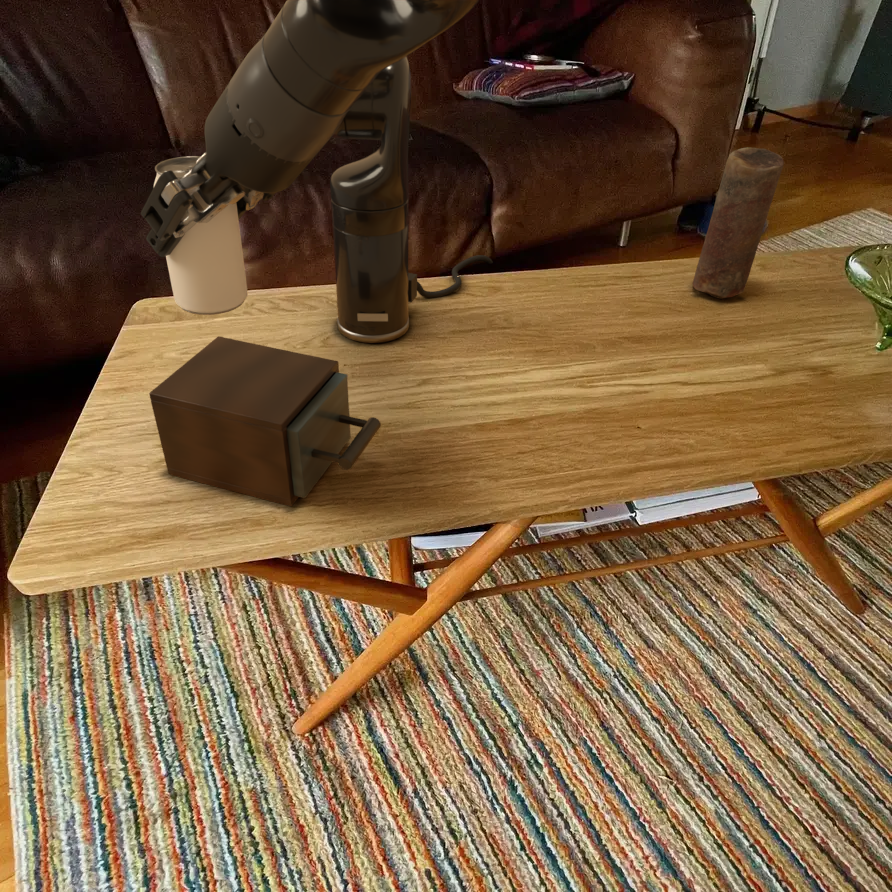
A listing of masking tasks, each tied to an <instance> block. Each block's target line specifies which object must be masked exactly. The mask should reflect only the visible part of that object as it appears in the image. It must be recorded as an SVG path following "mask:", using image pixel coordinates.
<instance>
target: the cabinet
mask: <svg viewBox="0 0 892 892" xmlns="http://www.w3.org/2000/svg"><path fill="white" fill-rule="evenodd" d="M339 369H340V368H339V361H338V360H335V359H329V358H325V357H319V356H316V355H315V356H314V355H310V354H305V353H301V352H295V351H291V350H286V349H281V348H277V347H271V346H267V345H261V344H257V343H252V342H247V341H244V340H239V339H233V338H230V337H229V338H228V337H223V336H216V337H215V338H214V339H213V340H212V341H211V342H209V343H208V344H207V345H205V347H203V348H202V349H201V350H199V351H198V352H197V353H196V354H195V355H194V356H193V357H190V359H188V360H187V362H185V363H184V364H182V365H181V366H180V367H178V369H177V370H175V371H174V372H173V373H172V374H171V375H169V376H167V378H165V379H164V380H163V381H162V382H161V383H159V384H158V385H157V386H156V387H155V388H154V389H152V390H151V391H150V392H149V393H148V395H149V398H150V404H151V407H152V412H153V416H154V420H155V424H156V428H157V432H158V433H157V434H158V436H159V437H158V438H159V441H160V445H161V449H162V454H163V457H164V461H165V465H166V470H167V474H168V475H170V476H174V477H178V478H181V479H185V480H188V481H193V482H197V483H201V484H203V485H204V484H205V485H209V486H212V487H216V488H219V489H223V490H228V491H231V492H235V493H239V494H242V495H246V496H250V497H254V498H257V499H261V500H264V501H268V502H269V501H270V502H273V503H277V504H280V505H284V506H288V507H293V505H294V504H295V503H296V501H297V500H298V499H299V497H298V496H295V495H294V490H293V482H292V473H291V464H290V456H289V447H288V439H287V425H288V424H289V423H290V422H291V421H292V420H293V419H294V417H295V416H296V415H297V414H298V413H299V412H300V411H301V410H302V408H303V407H304V406H305V405H306V404H307V403H308V402H309V401H310V399H311V398H312V397H313V396H314V395H315V394H316V393H317V392H318V390H319V389H320V388H321V387H322V388H323V387H324V386H325V385H326V384H327V382H328V381H329V380H330V379H331V378H332V377H333V376H334V374H335V373H336V372H338V373H340V370H339Z"/></svg>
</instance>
